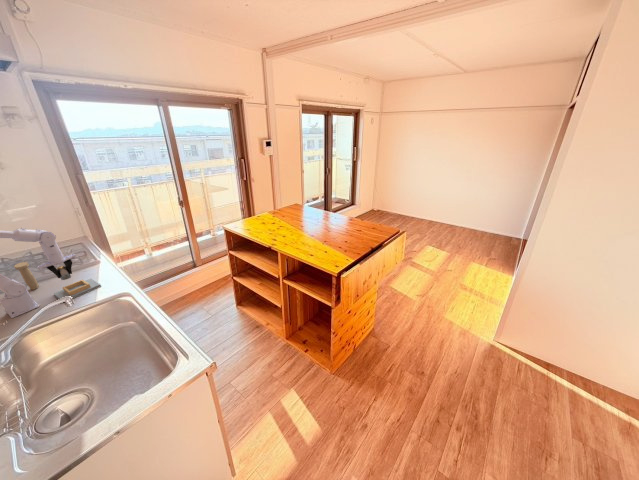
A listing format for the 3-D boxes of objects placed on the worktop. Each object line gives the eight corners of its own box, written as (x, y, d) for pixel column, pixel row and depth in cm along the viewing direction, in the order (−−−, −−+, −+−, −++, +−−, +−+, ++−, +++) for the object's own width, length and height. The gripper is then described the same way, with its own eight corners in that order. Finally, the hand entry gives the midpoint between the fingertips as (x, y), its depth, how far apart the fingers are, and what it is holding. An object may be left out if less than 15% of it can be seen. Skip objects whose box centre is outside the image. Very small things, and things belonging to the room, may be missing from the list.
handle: (30, 292, 134) (15, 268, 127) (27, 288, 137) (13, 264, 131) (42, 288, 137) (28, 264, 131) (39, 284, 141) (26, 261, 134)
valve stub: (63, 280, 131) (57, 269, 129) (59, 278, 133) (54, 268, 131) (72, 277, 135) (67, 266, 132) (69, 275, 136) (63, 264, 134)
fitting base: (63, 302, 126) (60, 297, 124) (54, 295, 131) (51, 290, 130) (101, 286, 138) (98, 281, 137) (91, 280, 144) (89, 275, 142)
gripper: (68, 245, 135) (78, 267, 141) (30, 257, 124) (43, 280, 129) (73, 248, 132) (84, 270, 137) (35, 260, 120) (48, 283, 126)
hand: (65, 275), depth 133 cm, fingers closed on valve stub, 4 cm apart
